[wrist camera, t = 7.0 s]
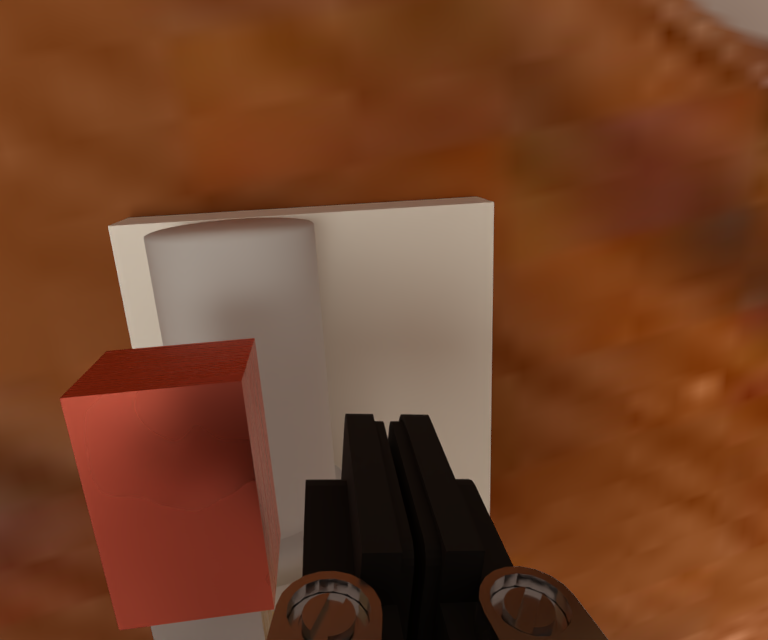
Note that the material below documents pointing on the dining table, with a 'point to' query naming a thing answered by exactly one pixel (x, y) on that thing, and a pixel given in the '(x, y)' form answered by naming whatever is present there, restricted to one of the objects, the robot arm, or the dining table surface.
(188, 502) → the valve lever
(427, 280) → the valve base
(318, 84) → the dining table surface
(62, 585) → the dining table surface
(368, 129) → the dining table surface
